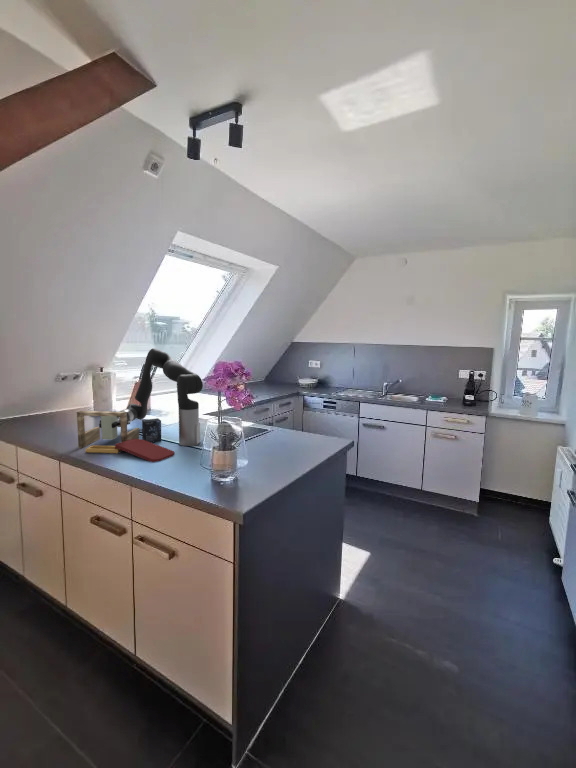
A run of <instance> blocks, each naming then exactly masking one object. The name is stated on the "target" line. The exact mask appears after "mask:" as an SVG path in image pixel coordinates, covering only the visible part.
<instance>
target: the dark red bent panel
mask: <svg viewBox="0 0 576 768" xmlns="http://www.w3.org/2000/svg"><path fill="white" fill-rule="evenodd" d="M114 446H115V449H117V448H118V449H121V452H126V453H128V454H131V455H133V456H136V457H138V458H141V459H143V460H146V461H148V462H150V463H151V462H152V463H156V462H161V461H163V460H166V459H169V458H171V457H173V456H174V455H175V451H174V450H172V449H169V448H166V447H164V446H161V445H159V444H155V443H154V442H148V441H145V440H143V439H142V438H139V439H132V440H131V439H130V440H127V441H123V442H121V441H120V442H118V443H115V445H114ZM121 452H120V453H121Z"/></svg>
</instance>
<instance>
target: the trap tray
mask: <svg viewBox="0 0 576 768" xmlns="http://www.w3.org/2000/svg"><path fill="white" fill-rule="evenodd" d="M120 453H121V449H118V448H117V449H115V445H97V444H96V445H90V446H88V447H87V448H85V454H108V455H109V454H110V455H111V454H113V455H115V454H117V455H118V454H120Z"/></svg>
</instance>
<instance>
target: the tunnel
mask: <svg viewBox="0 0 576 768" xmlns="http://www.w3.org/2000/svg"><path fill="white" fill-rule="evenodd" d="M87 416H88V417H90V416H91V417H101V416H120V419H121V427H120V438H121V439H120V442H123V441H127V440H130V439H131V440H132V439H140V427H134V428H133V429H131V430H130V431H128V425H127V412H119V411H108V410H107V411H104V410H103V411H102V410H101V411H100V410H79V411H76V423H77V425H76V426H77V442H78V443H77V445H78V447H77V448H78V449H83V448H85V447H87V446H89V445H90V444H93V443H95V442H96V441H99V440H100V439H101V428H100V427H99V426H95V427H93V428H91V429H89V430H87V431H85V430H86V429H85V427H86V425H85V417H87Z"/></svg>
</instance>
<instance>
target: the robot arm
mask: <svg viewBox="0 0 576 768" xmlns="http://www.w3.org/2000/svg"><path fill="white" fill-rule="evenodd" d="M153 367H155V368H159V369H162V373H163V375H165V377H167V378H168V379H169V380H170V381H173V382H176V394H177V403H178V406H177V407H178V445H180V446H181V447H182V446H184V447H192V446H198V445H199V444H200V443H201V423H200V421H199V420H200V418H199V416H200V413H199V412H200V411H199V408H200V407H199V406H200V405H199V402H198V401H196V400H194V399H190V398H189V396H188V395H194V394H198V393H200V392H201V391H202V390H203V389H204V383H203V380H202V378H201V377H200V375H199V374H197V373H194V372H192V371H191V370H190V369H188V368H186V367H184V366H183V365H182V364H181V363H179V362H178V361H176V360H174V359H173V357H172V356H170V354H168V353H167V352H166V351H163V350H159V349H157V348H151V349H149V351H148V352H147V355H146V358H145V361H144V366H143V369H142V373H141V374H142V375H141V379H140V382H139V386H138V388H137V390H136V394H135V396H134V399H135V400H136V401H137V402H139V403H140V405H139V404H135V403H129V405H128V406H127V407H126V408H125V409H122V410H118V412H127V426H129V425H131V422H133V421H135V420H136V419H137V420H141V421H142V420H145V418H146V416H147V413H148V403H149V399H150V397H151V394H152V392H153V382H152V377H151V376H152V375H151V372H152V368H153ZM98 427H100V429H101V419H100V420H99V423H98ZM115 427H117V428H121V419H120V416H117V421H116V422H114V423H112V428H115Z"/></svg>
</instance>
